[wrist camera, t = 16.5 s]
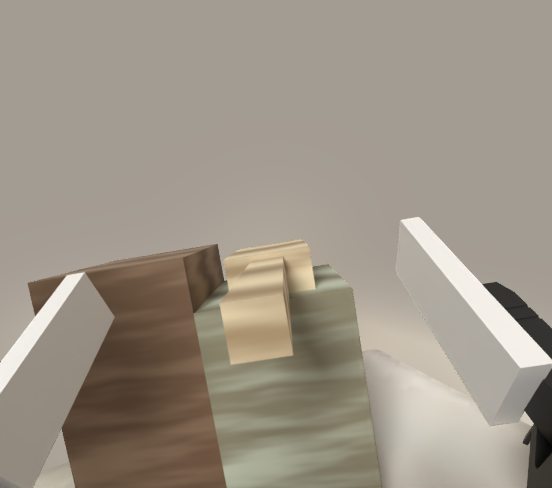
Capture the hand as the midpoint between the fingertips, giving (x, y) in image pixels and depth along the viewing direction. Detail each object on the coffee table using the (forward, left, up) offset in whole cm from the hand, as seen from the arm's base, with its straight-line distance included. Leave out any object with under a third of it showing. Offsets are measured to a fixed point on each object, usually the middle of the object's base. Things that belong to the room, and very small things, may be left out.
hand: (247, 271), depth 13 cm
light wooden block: (-9, +9, -5) cm, 14 cm away
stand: (-19, +9, -29) cm, 36 cm away
